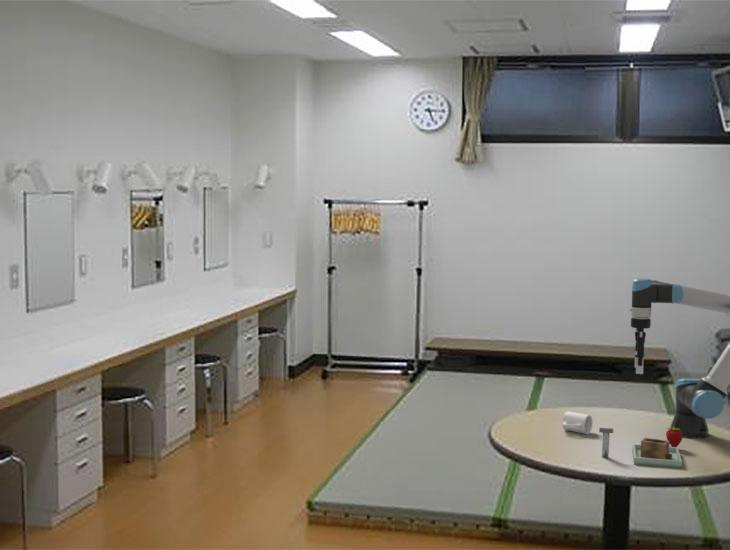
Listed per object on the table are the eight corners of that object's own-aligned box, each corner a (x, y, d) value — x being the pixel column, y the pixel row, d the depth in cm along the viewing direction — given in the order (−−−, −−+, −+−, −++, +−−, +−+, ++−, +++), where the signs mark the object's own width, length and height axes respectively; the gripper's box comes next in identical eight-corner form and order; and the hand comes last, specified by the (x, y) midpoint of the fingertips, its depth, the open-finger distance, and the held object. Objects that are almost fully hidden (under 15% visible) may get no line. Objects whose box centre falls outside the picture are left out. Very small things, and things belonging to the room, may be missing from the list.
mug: (570, 428, 397) (571, 409, 396) (592, 432, 391) (593, 413, 390) (557, 433, 388) (557, 414, 387) (579, 437, 381) (579, 418, 381)
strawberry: (670, 451, 363) (671, 426, 362) (662, 446, 370) (663, 421, 369) (685, 451, 363) (686, 426, 362) (677, 446, 371) (678, 421, 370)
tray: (677, 453, 359) (677, 447, 359) (681, 468, 340) (682, 461, 340) (632, 450, 363) (632, 444, 363) (634, 464, 344) (634, 457, 344)
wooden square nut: (640, 456, 352) (641, 440, 351) (644, 452, 357) (645, 437, 357) (669, 461, 346) (670, 445, 346) (673, 457, 352) (673, 441, 351)
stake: (612, 456, 354) (613, 428, 353) (612, 458, 352) (613, 429, 351) (598, 455, 355) (599, 427, 354) (598, 457, 353) (599, 428, 352)
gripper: (630, 313, 385) (628, 364, 387) (632, 321, 361) (629, 375, 363) (649, 314, 383) (647, 365, 385) (652, 322, 359) (650, 377, 361)
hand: (638, 370), depth 374 cm, fingers open, 13 cm apart
